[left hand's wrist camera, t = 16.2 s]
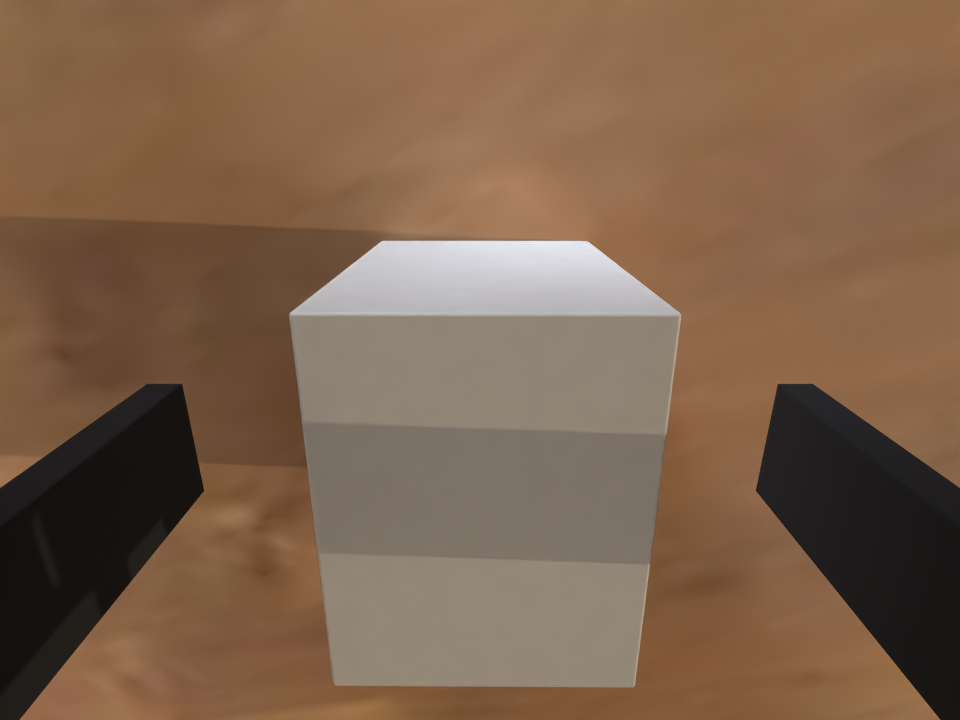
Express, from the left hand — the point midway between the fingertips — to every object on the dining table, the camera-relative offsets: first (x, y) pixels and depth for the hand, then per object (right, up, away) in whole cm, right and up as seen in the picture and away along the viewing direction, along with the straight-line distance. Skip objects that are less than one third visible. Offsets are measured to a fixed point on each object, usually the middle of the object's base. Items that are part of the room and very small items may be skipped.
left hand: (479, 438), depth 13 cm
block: (0, +2, +6) cm, 6 cm away
